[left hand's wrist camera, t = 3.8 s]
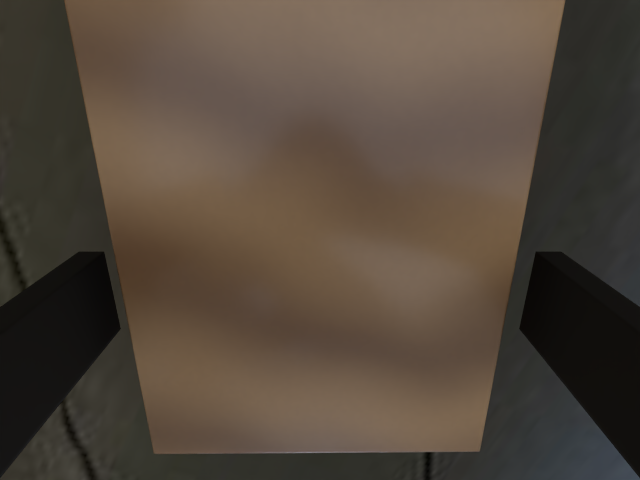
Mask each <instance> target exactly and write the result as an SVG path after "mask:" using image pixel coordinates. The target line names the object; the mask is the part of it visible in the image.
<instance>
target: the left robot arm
mask: <svg viewBox="0 0 640 480" xmlns="http://www.w3.org/2000/svg"><path fill="white" fill-rule="evenodd" d="M120 329H121V328H120V324H119V319H118V314H117V310H116V305H115V300H114V296H113V291H112V286H111V282H110V277H109V272H108V268H107V263H106V258H105V254H104V252H78V253H76V254H75V255H74V256H72V257H71V258H69V259H68V260H66V261H65V262H64V263H62V264H61V265H59V266H58V267H57V268H55V269H54V270H52V271H51V272H49V273H48V274H47V275H45V276H44V277H42V278H41V279H39V280H38V281H37V282H35V283H34V284H32V285H31V286H30V287H28V288H27V289H25V290H24V291H22V292H21V293H20V294H18V295H17V296H15V297H14V298H12V299H11V300H10V301H8V302H7V303H5V304H4V305H3V306H1V307H0V477H1V476H2V475H3V474H4V473H5V471H6V470H7V469H8V468H9V466H10V465H11V464H12V463H13V461H14V460H15V459H16V458H17V456H18V455H19V454H20V453H21V451H22V450H23V449H24V448H25V447H26V445H27V444H28V443H29V442H30V440H31V439H32V438H33V437H34V435H35V434H36V433H37V432H38V430H39V429H40V428H41V427H42V425H43V424H44V423H45V422H46V421H47V419H48V418H49V417H50V416H51V414H52V413H53V412H54V411H55V409H56V408H57V407H58V406H59V404H60V403H61V402H62V401H63V399H64V398H65V397H66V396H67V395H68V393H69V392H70V391H71V390H72V388H73V387H74V386H75V385H76V383H77V382H78V381H79V380H80V378H81V377H82V376H83V375H84V374H85V372H86V371H87V370H88V369H89V367H90V366H91V365H92V364H93V362H94V361H95V360H96V359H97V357H98V356H99V355H100V354H101V352H102V351H103V350H104V349H105V348H106V346H107V345H108V344H109V343H110V341H111V340H112V339H113V338H114V336H115V335H116V334H117V333H118V331H119V330H120ZM519 329H520V330H521V331H522V333H523V334H524V335H525V336H526V338H527V339H528V340H529V341H530V343H531V344H532V345H533V346H534V348H535V349H536V350H537V351H538V352H539V354H540V355H541V356H542V357H543V359H544V360H545V361H546V362H547V364H548V365H549V366H550V367H551V369H552V370H553V371H554V372H555V374H556V375H557V376H558V377H559V378H560V380H561V381H562V382H563V383H564V385H565V386H566V387H567V388H568V390H569V391H570V392H571V393H572V395H573V396H574V397H575V398H576V399H577V401H578V402H579V403H580V404H581V406H582V407H583V408H584V409H585V411H586V412H587V413H588V414H589V416H590V417H591V418H592V419H593V421H594V422H595V423H596V424H597V425H598V427H599V428H600V429H601V430H602V432H603V433H604V434H605V435H606V437H607V438H608V439H609V440H610V442H611V443H612V444H613V445H614V447H615V448H616V449H617V450H618V451H619V453H620V454H621V455H622V456H623V458H624V459H625V460H626V461H627V463H628V464H629V465H630V466H631V468H632V469H633V470H634V471H635V473H636V474H637V475H638V476H639V477H640V307H639V306H637V305H636V304H635V303H633V302H632V301H630V300H629V299H628V298H626V297H625V296H623V295H622V294H620V293H619V292H618V291H616V290H615V289H613V288H612V287H610V286H609V285H608V284H606V283H605V282H603V281H602V280H601V279H599V278H598V277H596V276H595V275H593V274H592V273H591V272H589V271H588V270H586V269H585V268H583V267H582V266H581V265H579V264H578V263H576V262H575V261H574V260H572V259H571V258H569V257H568V256H566V255H565V254H564V253H562V252H536V254H535V258H534V263H533V268H532V272H531V277H530V282H529V286H528V291H527V296H526V300H525V305H524V310H523V314H522V319H521V324H520V328H519Z"/></svg>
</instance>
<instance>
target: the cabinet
mask: <svg viewBox="0 0 640 480" xmlns="http://www.w3.org/2000/svg"><path fill="white" fill-rule="evenodd" d="M64 2H65V7H66V12H67V17H68V22H69V27H70V32H71V37H72V42H73V47H74V52H75V57H76V62H77V67H78V72H79V77H80V83H81V88H82V93H83V98H84V103H85V108H86V113H87V118H88V123H89V128H90V133H91V138H92V143H93V148H94V153H95V158H96V163H97V168H98V173H99V179H100V184H101V189H102V194H103V199H104V204H105V209H106V214H107V219H108V224H109V229H110V234H111V239H112V244H113V249H114V254H115V259H116V264H117V269H118V275H119V280H120V285H121V290H122V295H123V300H124V305H125V310H126V315H127V320H128V325H129V330H130V335H131V340H132V345H133V350H134V355H135V360H136V365H137V371H138V376H139V381H140V386H141V391H142V396H143V401H144V406H145V411H146V416H147V421H148V426H149V431H150V436H151V441H152V446H153V451H154V454H220V453H354V452H478V451H480V447H481V442H482V436H483V431H484V426H485V421H486V415H487V410H488V405H489V400H490V394H491V389H492V384H493V378H494V373H495V368H496V363H497V357H498V352H499V347H500V342H501V336H502V331H503V326H504V320H505V315H506V310H507V305H508V299H509V294H510V289H511V284H512V278H513V273H514V268H515V262H516V257H517V252H518V247H519V241H520V236H521V231H522V226H523V220H524V215H525V210H526V204H527V199H528V194H529V189H530V183H531V178H532V173H533V168H534V162H535V157H536V152H537V146H538V141H539V136H540V131H541V125H542V120H543V115H544V110H545V104H546V99H547V94H548V88H549V83H550V78H551V73H552V67H553V62H554V57H555V52H556V46H557V41H558V36H559V30H560V25H561V20H562V15H563V9H564V4H565V0H64Z"/></svg>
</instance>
